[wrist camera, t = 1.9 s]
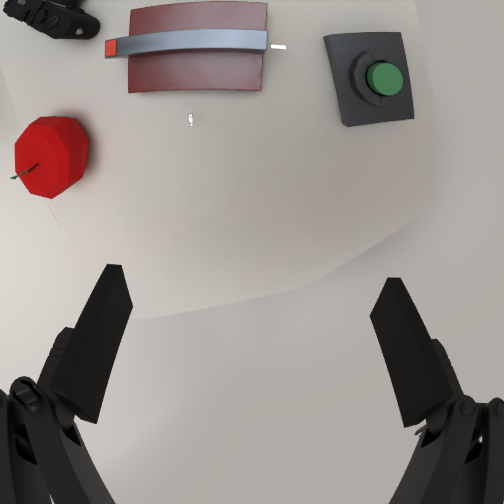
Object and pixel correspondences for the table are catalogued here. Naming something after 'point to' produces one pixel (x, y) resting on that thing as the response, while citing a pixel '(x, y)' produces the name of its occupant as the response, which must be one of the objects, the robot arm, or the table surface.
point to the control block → (355, 77)
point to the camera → (54, 18)
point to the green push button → (384, 78)
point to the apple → (51, 155)
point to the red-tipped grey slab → (187, 42)
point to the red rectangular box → (197, 63)
